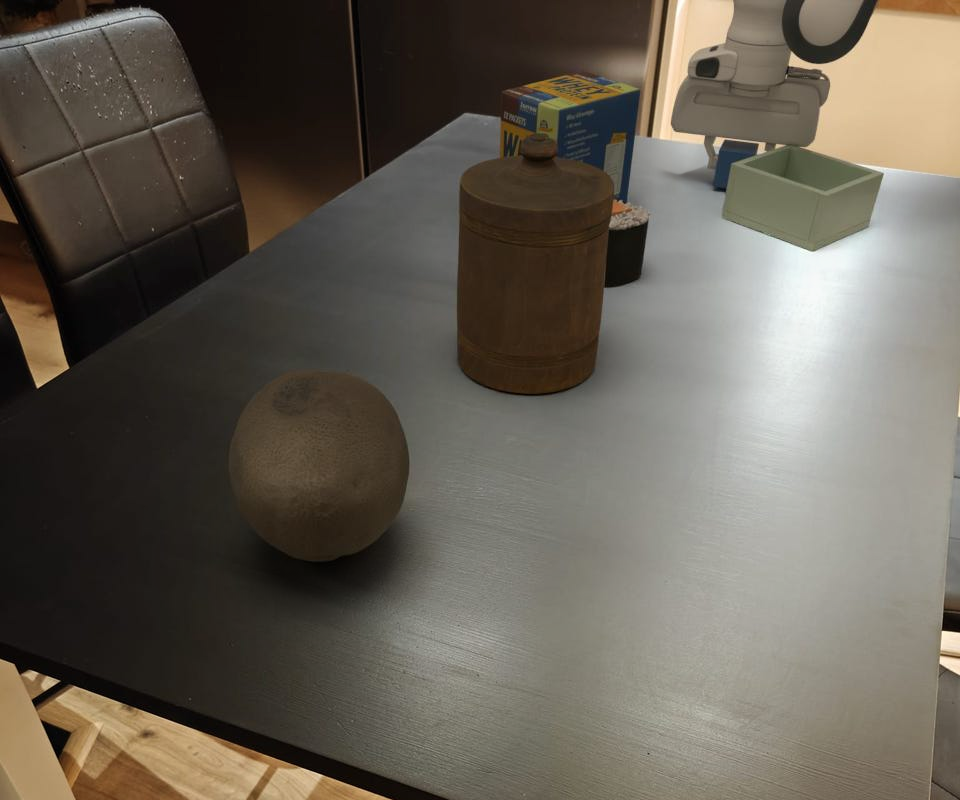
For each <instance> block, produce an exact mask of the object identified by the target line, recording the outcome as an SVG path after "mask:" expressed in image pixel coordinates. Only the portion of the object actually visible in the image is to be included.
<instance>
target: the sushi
mask: <svg viewBox="0 0 960 800" xmlns="http://www.w3.org/2000/svg"><path fill="white" fill-rule="evenodd" d="M631 204H632V203H631V202H627V203H626V204H624V203H623V201H622V200H620V201H618V202H617V200H615V199H614V200H613V209H612V216H611V221H610V224H609V234H608V245H607V256H606V268H605V281H604V288H605V287H606V288H611V287H612V288H613V287H618V286H622V285H626V284H629V283H631V282H633V281H636V280H638V279H639V278H640V277H641V276H642V271H643V264H644V257H645V249H646V243H647V235H648V228H649V220H650V216H651V212H650V211H649V210H648V209H643V206H642V205H640V206H638V205H631Z"/></svg>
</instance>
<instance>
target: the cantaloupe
mask: <svg viewBox="0 0 960 800" xmlns="http://www.w3.org/2000/svg"><path fill="white" fill-rule="evenodd" d="M229 445H230V446H229V453H228V474H229V481H230V485H231V488H232V493H233V495H234V497H235V500H236V504H237V505H238V508H239V510H240V512H241V514H242V515H243V517H244V519H245V521H246V522H247V523H248V525H249V526H250V528H251V529H252V530H253V531H254V532H255V533H256V535H258V536H259V537H260V538H261V539H262V540H263V541H264V542H265V543H267V544H269V545H270V546H272V547H273V548H275V549H277V550H278V551H280V552H282V553H283V554H285V555H287V556H289V557H291V558H294V559H297V560H302V561H307V562H310V563H312V562H313V563H319V562H321V563H323V562H331V561H335V560H336V559H338V558H340V557H343V556H350V555H355V554H357V553H358V552H361V551H363V550H364V549H366V548H367V547H368V546H370V545H372V544H373V543H375V542H376V541H377V540H378V539H379V538H380V537H381V536H382V535H383V534H384V532H386V531H387V530H388V529H389V528H390V527H391V525H392V524H393V523H394V522H395V520H396V518H397V517H398V515H399V514H400V511H401V509H402V506H403V503H404V501H405V496H406V492H407V487H408V481H409V478H410V477H409V476H410V452H409V445H408V442H407V439H406V433H405V431H404V428H403V426H402V423H401V421H400V417H399V415H398V413H397V411H396V409H395V408H394V405H393V404H392V402H391V401H390V400H389V399H388V398H387V396H386V395H385V394H384V393H383V392H382V391H381V390H380V389H379V388H377V387H376V386H375V385H373V383H370V382H369V381H367V380H365V379H363V378H361V377H359V376H356V375H354V374H351V373H348V372H343V371H339V370H326V369H325V370H324V369H313V368H312V369H304V370H295V371H292V372H288V373H285V374H282V375H280V376H279V377H276V378H275V379H273V380H271V381H269V382H268V383H266V385H264V386H263V387H262V388H261V389H260V390H259V391H258V392H257V393H256V394H254V395H253V397H252V398H251V399H250V401H248V403H247V405H245V407H244V409H243V411H242V412H241V414H240V416H239V418H238V420H237V423H236V426H235V430H234V432H233V436H232V438H231V441H230V444H229Z"/></svg>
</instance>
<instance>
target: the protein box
mask: <svg viewBox="0 0 960 800" xmlns="http://www.w3.org/2000/svg"><path fill="white" fill-rule="evenodd" d="M641 91H642V90H641V89H640V88H637V87H635V86H631V85H630V84H626V83H622V82H619V81H616V80H613V79H610V78H606V77H603V76H601V75H598V74H594V73H591V72H588V71H585V70H581V71H577V72H574V73H573V72H572V73H570V74H567V75H566V74H565V75H561V76H558V77H553V78H549V79H545V80H542V81H536V82H533V83H529V84H525V85H521V86H517V87H513V88H507V89H504V90H501V94H500V95H501V96H500V130H499V131H500V132H499V133H500V135H499V158H502V157H509V156H522V155H521V153H520V146H521V142H522V141H523V140H524V139H525V138H527V137H529V136H530V135H531V134H535V133H540V134H541V133H543V134H547V135H549V138H551V139H553V140H554V141H555V142H556V144H557V146H558V154H557V155H556V156H555V157H559V158H565V159H571V160H576V161H580V162H583V163H587V164H590V165H592V166H595V167H597V168H599V169H601V170H602V171H604V172H606V173H607V174H608V175H609V176H610V177H611V178H612V180H613V182H614V199H615V200H617V202H618V201H620V200H622V201H623V203H624V204H626V203H628V195H629V188H630V180H631V173H632V171H631V170H632V162H633V156H634V155H633V154H634V146H635V138H636V131H637V123H638V113H639V107H640V99H641V98H640V97H641Z"/></svg>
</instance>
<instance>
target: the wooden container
mask: <svg viewBox="0 0 960 800" xmlns="http://www.w3.org/2000/svg"><path fill="white" fill-rule="evenodd" d="M520 153H521V155H522V156H509V157H502V158H500V157H497V158H491V159H487V160H484V161H481V162H478V163H475V164H474V165H472V166H470V167H468V168H467V169H465V171H464V172H463V173H462V174H461V176H460V179H459V189H458V190H459V193H458V196H459V197H458V204H459V205H458V214H459V219H458V251H457V254H458V256H457V274H456V277H457V278H456V281H457V282H456V355H457V356H456V357H457V358H456V359H457V363H458V366H459V367H460V369H461V370H462V371H463V373H464V374H465V375H467V377H469V378H470V379H472V380H473V381H475V382H477V383H479V384H480V385H483V386H486V387H488V388H491V389H494V390H498V391H502V392H505V393H506V392H508V393H513V394H515V393H516V394H525V395H536V394H549V393H554V392H555V393H556V392H560V391H564V390H567V389H570V388H572V387H574V386H576V385H577V386H578V384H581V383H582V382H584V381H585V380H586V379H588V378H589V376H590V375H591V374H592V373H593V372H594V370H595V367H596V364H597V363H596V362H597V361H596V360H597V354H598V348H599V336H600V329H601V323H602V315H603V314H602V313H603V303H604V293H605V286H604V281H605V268H606V256H607V245H608V234H609V224H610V221H611V216H612V209H613V200H614V182H613V180H612V178H611V177H610V176H609V175H608V174H607V173H606V172H604V171H602V170H601V169H599V168H597V167H595V166H592V165H590V164H587V163H583V162H580V161H576V160H571V159H565V158H559V157H555V156H556V155H557V154H558V146H557V144H556V142H555V141H554V140H553V139H551V138H549V135H547V134H543V133H541V134H540V133H535V134H531V135H530V136H529V137H527V138H525V139H524V140H523V141H522V142H521V146H520Z"/></svg>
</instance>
